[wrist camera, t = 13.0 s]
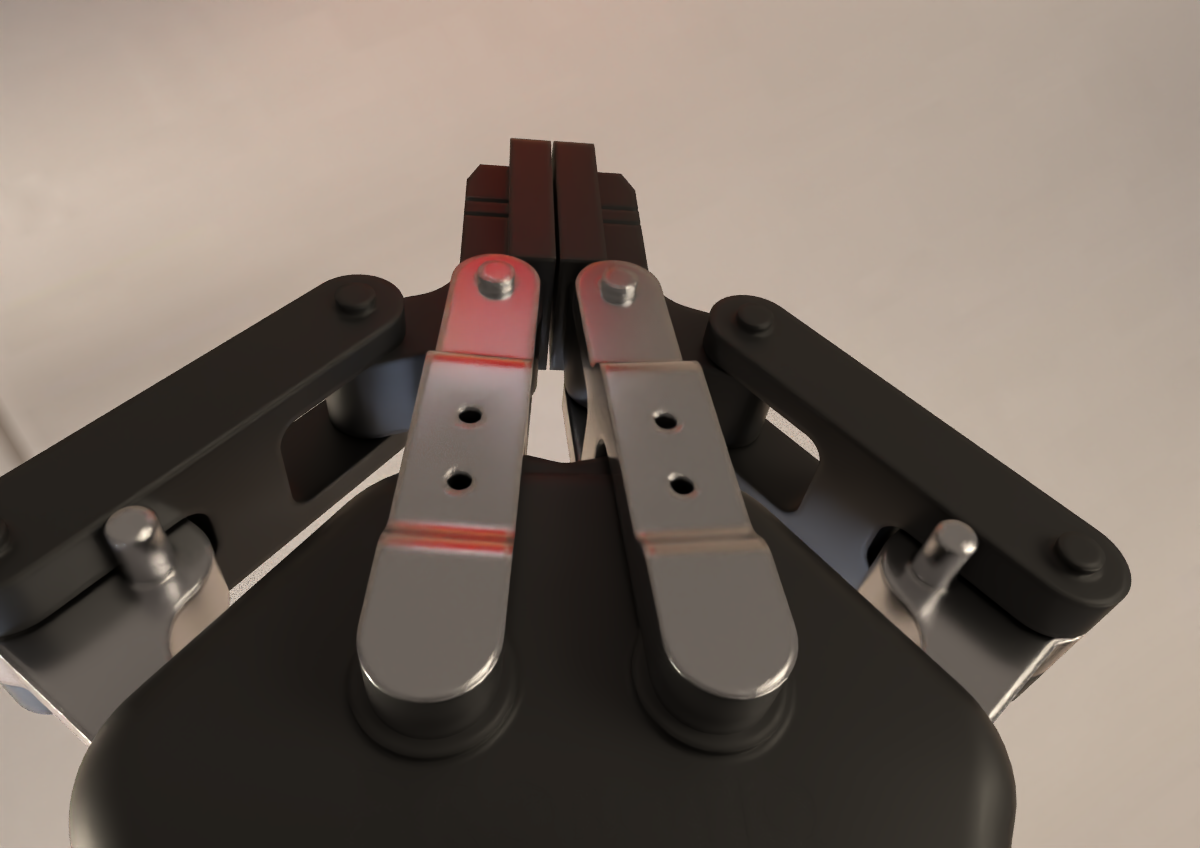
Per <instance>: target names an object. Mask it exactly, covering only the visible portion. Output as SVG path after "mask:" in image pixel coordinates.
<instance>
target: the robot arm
mask: <svg viewBox="0 0 1200 848" xmlns="http://www.w3.org/2000/svg"><path fill="white" fill-rule="evenodd" d="M548 343H549V354H550V370H564V389H563V398H562V410H563V417H564V424H565V430H566V437H567V444H568V451H569V457H570V463H560V462H555V461H550V460H546V459H542V458H537V457H533V456H528V455H527V446H528V435H529V425H530V414H531V403H532V395H533V393H534V392H535V389H536V386H537V375H538V370H546V366H547V354H548ZM324 399H325V400H324ZM323 400H324V401H323ZM321 401H323V402H321ZM320 402H321V403H320ZM319 403H320V404H319ZM317 404H318V405H317ZM316 405H317V406H316ZM314 406H316V407H314ZM313 407H314V408H313ZM769 407H771V408H773V409H774V410H775V411H776V412H778V413H779V414H780V415H781V416H783V417H784V418H785V419H787V420H788V421H789V422H790V423H792V424H793V425H794V426H796V427H797V428H798V429H799V430H801V431H802V432H803V433H805V434H806V435H807V436H808V437H809V438H810V439H811V440H812V441H813V443H814V444H815V446H816V447H817V450H818V452H819V457H820V461H818V460H817V459H816V458H815V457H813V456H812V455H811V454H810V453H808V452H807V451H806V450H804V449H803V448H802V447H801V446H799V445H798V444H797V443H796V442H794V441H793V440H792V439H791V438H789V437H788V436H787V435H786V434H784V433H783V432H782V431H781V430H779V429H778V428H777V427H775V426H774V425H773V424H772V423H770V422H769V421H768V420H767V419H765V418H766V415H767V413H768V410H769ZM312 408H313V409H312ZM310 409H311V410H310ZM309 410H310V411H309ZM307 411H309V412H307ZM306 412H307V413H306ZM305 413H306V414H305ZM303 414H304V415H303ZM302 415H303V416H302ZM300 416H302V417H300ZM299 417H300V418H299ZM298 418H299V419H298ZM296 419H297V420H296ZM295 420H296V421H295ZM404 447H405V449H404V454H403V458H402V463H401V467H400V471H399V473H397V474H395V475H392V476H390V477H387V478H385V479H383V480H381V481H379V482H377V483H375V484H373V485H371V486H370V487H368V488H366V489H365V490H363V491H362V492H361V493H359V494H358V495H356V496H355V497H354V498H352V499H351V500H350V501H349V502H348V503H346V504H345V505H344V506H343V507H342V508H341V509H340V510H338V511H337V512H336V513H335V514H334V515H333V516H332V517H331V518H329V519H328V520H327V521H326V522H325V523H324V524H323V525H322V526H320V527H319V528H318V529H317V530H316V531H315V532H314V533H313V534H311V535H310V536H309V537H308V538H307V539H306V540H305V541H303V542H302V543H301V544H300V545H299V546H298V547H297V548H296V549H294V550H293V551H292V552H291V553H290V554H289V555H288V556H287V557H285V558H284V559H283V560H282V561H281V562H280V563H279V564H278V565H276V566H275V567H274V568H273V569H272V570H271V571H270V572H268V573H267V574H266V575H265V576H264V577H263V578H262V579H261V580H259V581H258V582H257V583H256V584H255V585H254V586H253V587H252V588H250V589H249V590H248V591H247V592H246V593H245V594H244V595H242V596H241V597H240V598H239V599H238V600H237V601H236V602H235V603H233V604H232V605H231V606H230V593H229V591H230V590H231V589H232V588H233V587H234V586H236V585H237V584H238V583H239V582H241V581H242V580H243V579H244V578H245V577H247V576H248V575H249V574H250V573H252V572H253V571H254V570H255V569H256V568H258V567H259V566H260V565H261V564H262V563H264V562H265V561H266V560H267V559H269V558H270V557H271V556H272V555H273V554H275V553H276V552H277V551H278V550H280V549H281V548H282V547H283V546H284V545H286V544H287V543H288V542H289V541H291V540H292V539H293V538H294V537H295V536H297V535H298V534H299V533H300V532H302V531H303V530H304V529H305V528H306V527H308V526H309V525H310V524H311V523H312V522H314V521H315V520H316V519H317V518H319V517H320V516H321V515H322V514H323V513H325V512H326V511H327V510H328V509H330V508H331V507H332V506H333V505H334V504H336V503H337V502H338V501H339V500H341V499H342V498H343V497H344V496H345V495H347V494H348V493H349V492H350V491H352V490H353V489H354V488H355V487H356V486H358V485H359V484H360V483H361V482H362V481H364V480H365V479H366V478H367V477H369V476H370V475H371V474H372V473H373V472H375V471H376V470H377V469H378V468H380V467H381V466H382V465H383V464H384V463H386V462H387V461H388V460H389V459H391V458H392V457H393V456H394V455H395V454H397V453H398V452H399V451H400V450H401V449H403V448H404ZM1130 587H1131V573H1130V570H1129V567H1128V564H1127V562H1126V560H1125V558H1124V557H1123V555H1122V554H1121V552H1120V551H1119V550H1118V548H1117V547H1116V546H1115V545H1114V544H1113V543H1112V542H1111V541H1110V540H1109V539H1108V538H1107V537H1106V536H1105V535H1103V534H1102V533H1101V532H1099V531H1098V530H1097V529H1095V528H1094V527H1092V526H1091V525H1090V524H1088V523H1087V522H1085V521H1084V520H1083V519H1081V518H1080V517H1078V516H1077V515H1075V514H1074V513H1073V512H1071V511H1070V510H1068V509H1067V508H1065V507H1064V506H1063V505H1061V504H1060V503H1058V502H1057V501H1056V500H1054V499H1053V498H1051V497H1050V496H1048V495H1047V494H1046V493H1044V492H1043V491H1041V490H1040V489H1039V488H1037V487H1036V486H1034V485H1033V484H1031V483H1030V482H1029V481H1027V480H1026V479H1024V478H1023V477H1021V476H1020V475H1019V474H1017V473H1016V472H1014V471H1013V470H1012V469H1010V468H1009V467H1007V466H1006V465H1004V464H1003V463H1002V462H1000V461H999V460H997V459H996V458H994V457H993V456H992V455H990V454H989V453H987V452H986V451H985V450H983V449H982V448H980V447H979V446H977V445H976V444H975V443H973V442H972V441H970V440H969V439H968V438H966V437H965V436H963V435H962V434H960V433H959V432H958V431H956V430H955V429H953V428H952V427H950V426H949V425H948V424H946V423H945V422H943V421H942V420H941V419H939V418H938V417H936V416H935V415H933V414H932V413H931V412H929V411H928V410H926V409H925V408H923V407H922V406H921V405H919V404H918V403H916V402H915V401H914V400H912V399H911V398H909V397H908V396H906V395H905V394H904V393H902V392H901V391H899V390H898V389H897V388H895V387H894V386H892V385H891V384H889V383H888V382H887V381H885V380H884V379H882V378H881V377H879V376H878V375H877V374H875V373H874V372H872V371H871V370H870V369H868V368H867V367H865V366H864V365H862V364H861V363H860V362H858V361H857V360H855V359H854V358H853V357H851V356H850V355H848V354H847V353H845V352H844V351H843V350H841V349H840V348H838V347H837V346H835V345H834V344H833V343H831V342H830V341H828V340H827V339H826V338H824V337H823V336H821V335H820V334H818V333H817V332H816V331H814V330H813V329H811V328H810V327H808V326H807V325H806V324H804V323H803V322H801V321H800V320H799V319H797V318H796V317H794V316H793V315H791V314H790V313H789V312H787V311H786V310H784V309H783V308H782V307H780V306H778V305H777V304H775V303H773V302H771V301H769V300H766V299H763V298H760V297H756V296H749V295H736V296H730V297H726V298H724V299H721V300H720V301H718V302H717V303H716V304H715V305H714V306H713V307H712V309H711V311H710V313H707V312H703V311H699V310H696V309H692V308H689V307H686V306H683V305H680V304H678V303H675V302H673V301H672V300H670V299H668V298H667V297H665V296H664V295H663V291H662V288H661V285H660V283H659V281H658V280H657V278H656V277H655V276H654V275H653V274H652V273H651V272H649V271H648V266H647V260H646V254H645V248H644V242H643V236H642V230H641V225H640V218H639V212H638V206H637V200H636V193H635V190H634V189H633V187H632V186H631V185H630V184H629V183H628V181H627V180H626V179H625V178H624V177H623V176H622V174H616V173H601V172H597V165H596V156H595V147H594V144H588V143H574V142H560V141H554V143H553V150H552V157H551V141H545V140H531V139H517V138H511V139H510V164H509V166H496V165H481V164H480V165H479V166H478V167H477V169H476V170H475V171H474V172H473V173H472V174H471V175H470V177H469V178H468V179H467V185H466V197H465V209H464V221H463V233H462V245H461V257H460V264H459V265H458V266H457V267H456V268H455V270H454V271H453V274H452V277H451V281H450V282H449V283H448V284H446V285H445V286H443V287H442V288H439V289H437V290H435V291H432V292H429V293H426V294H421V295H416V296H410V297H405V298H403V296H402V294H401V292H400V290H399V289H398V288H397V287H396V286H395V285H393V284H392V283H390V282H389V281H387V280H384V279H382V278H379V277H375V276H370V275H361V274H360V275H346V276H341V277H337V278H334V279H331V280H328V281H326V282H325V283H323V284H321V285H319V286H318V287H316V288H314V289H313V290H311V291H309V292H308V293H306V294H304V295H303V296H301V297H299V298H298V299H296V300H294V301H293V302H291V303H289V304H288V305H286V306H284V307H283V308H281V309H279V310H278V311H276V312H274V313H273V314H271V315H269V316H268V317H266V318H264V319H263V320H261V321H259V322H258V323H256V324H254V325H253V326H251V327H249V328H248V329H246V330H244V331H243V332H241V333H239V334H238V335H236V336H234V337H233V338H231V339H229V340H228V341H226V342H224V343H223V344H221V345H219V346H218V347H216V348H214V349H213V350H211V351H209V352H208V353H206V354H204V355H203V356H201V357H199V358H198V359H196V360H194V361H193V362H191V363H189V364H188V365H186V366H184V367H183V368H181V369H179V370H178V371H176V372H175V373H173V374H171V375H170V376H168V377H166V378H165V379H163V380H161V381H160V382H158V383H156V384H155V385H153V386H151V387H150V388H148V389H146V390H145V391H143V392H141V393H140V394H138V395H136V396H135V397H133V398H131V399H130V400H128V401H126V402H125V403H123V404H121V405H120V406H118V407H116V408H115V409H113V410H111V411H110V412H108V413H106V414H105V415H103V416H101V417H100V418H98V419H96V420H95V421H93V422H91V423H90V424H88V425H86V426H85V427H83V428H81V429H80V430H78V431H76V432H75V433H73V434H71V435H70V436H68V437H66V438H65V439H63V440H61V441H60V442H58V443H56V444H55V445H53V446H51V447H50V448H48V449H46V450H45V451H43V452H41V453H40V454H38V455H36V456H35V457H33V458H31V459H30V460H28V461H26V462H25V463H23V464H21V465H20V466H18V467H16V468H15V469H13V470H11V471H10V472H8V473H6V474H5V475H3V476H1V477H0V684H1V685H2V686H3V687H4V688H5V689H6V691H7V692H8V693H9V694H10V695H11V696H12V697H13V698H14V699H15V701H16V702H17V703H19V704H20V705H21V706H22V707H23V708H25V709H27V710H29V711H31V712H34V713H39V714H54V715H55V716H56V717H57V718H58V719H59V720H60V721H61V722H62V723H63V724H64V725H65V726H66V727H67V728H69V729H70V730H71V731H72V732H73V733H74V734H75V735H76V736H77V737H78V738H79V739H80V740H81V741H82V742H83V743H84V744H85V745H86V746H87V747H88V750H87V752H86V754H85V756H84V758H83V760H82V763H81V765H80V767H79V770H78V773H77V776H76V779H75V783H74V787H73V791H72V795H71V801H70V810H69V836H70V843H71V848H1011V844H1012V836H1013V829H1014V822H1015V814H1016V786H1015V780H1014V775H1013V770H1012V765H1011V762H1010V760H1009V757H1008V754H1007V751H1006V748H1005V745H1004V743H1003V741H1002V739H1001V737H1000V735H999V733H998V731H997V729H996V728H995V726H994V724H993V723H994V721H995V720H996V719H997V718H998V717H999V715H1000V714H1001V713H1002V712H1003V710H1004V709H1005V708H1006V707H1007V706H1008V704H1009V703H1010V702H1011V701H1013V700H1015V699H1016V698H1017V697H1018V696H1019V695H1020V694H1022V693H1023V692H1024V691H1025V690H1026V689H1027V688H1028V687H1029V686H1030V685H1031V684H1032V683H1033V682H1034V681H1036V680H1037V679H1038V678H1039V677H1040V676H1041V675H1042V674H1043V673H1044V672H1045V671H1046V670H1047V669H1048V668H1050V667H1051V666H1052V665H1053V664H1054V663H1055V662H1056V661H1057V660H1058V659H1059V658H1060V657H1061V656H1062V655H1063V654H1065V653H1066V652H1067V651H1068V650H1069V649H1070V648H1071V647H1072V646H1073V645H1074V644H1075V643H1076V642H1077V641H1079V640H1080V639H1081V638H1082V637H1083V636H1084V635H1085V634H1086V633H1087V632H1088V631H1089V630H1090V629H1091V628H1093V627H1094V626H1095V625H1096V624H1097V623H1098V622H1099V621H1100V620H1101V619H1102V618H1103V617H1104V616H1105V615H1106V614H1108V613H1109V612H1110V611H1111V610H1112V609H1113V608H1114V607H1115V606H1116V605H1117V604H1118V603H1119V602H1120V601H1122V600H1123V599H1124V598H1125V596H1126V595H1127V594H1128V592H1129V590H1130Z"/></svg>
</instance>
